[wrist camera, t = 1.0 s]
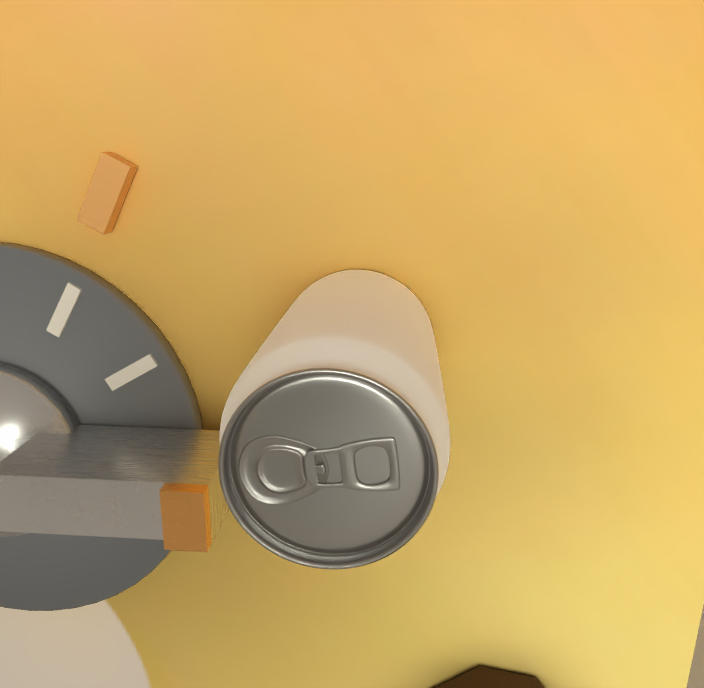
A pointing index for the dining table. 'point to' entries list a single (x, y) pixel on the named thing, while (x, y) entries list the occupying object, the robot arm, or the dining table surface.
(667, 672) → the dining table surface
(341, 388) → the can
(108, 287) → the dial plate
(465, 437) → the dining table surface
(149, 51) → the dining table surface
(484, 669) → the beer bottle
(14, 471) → the dial
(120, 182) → the small orange block
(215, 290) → the dining table surface
